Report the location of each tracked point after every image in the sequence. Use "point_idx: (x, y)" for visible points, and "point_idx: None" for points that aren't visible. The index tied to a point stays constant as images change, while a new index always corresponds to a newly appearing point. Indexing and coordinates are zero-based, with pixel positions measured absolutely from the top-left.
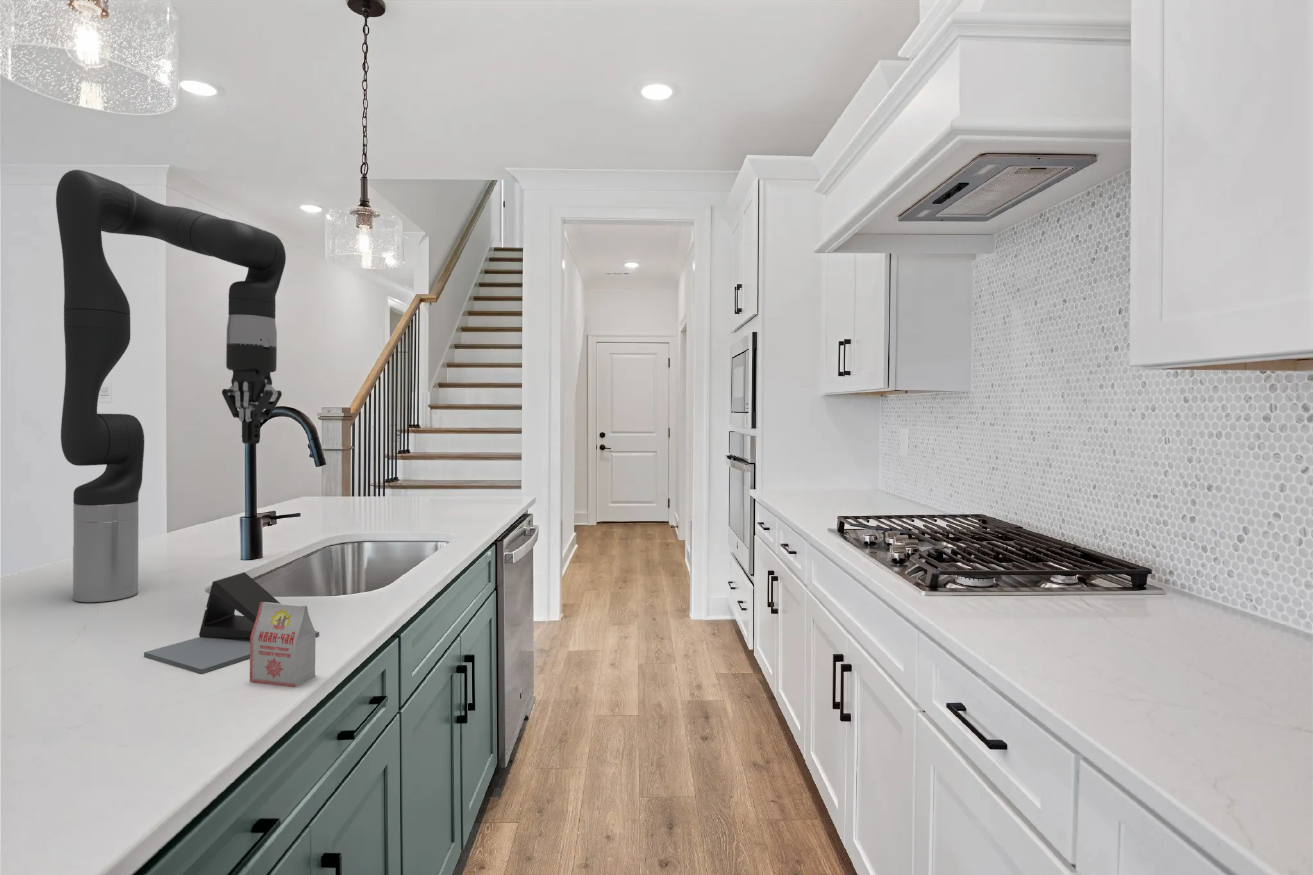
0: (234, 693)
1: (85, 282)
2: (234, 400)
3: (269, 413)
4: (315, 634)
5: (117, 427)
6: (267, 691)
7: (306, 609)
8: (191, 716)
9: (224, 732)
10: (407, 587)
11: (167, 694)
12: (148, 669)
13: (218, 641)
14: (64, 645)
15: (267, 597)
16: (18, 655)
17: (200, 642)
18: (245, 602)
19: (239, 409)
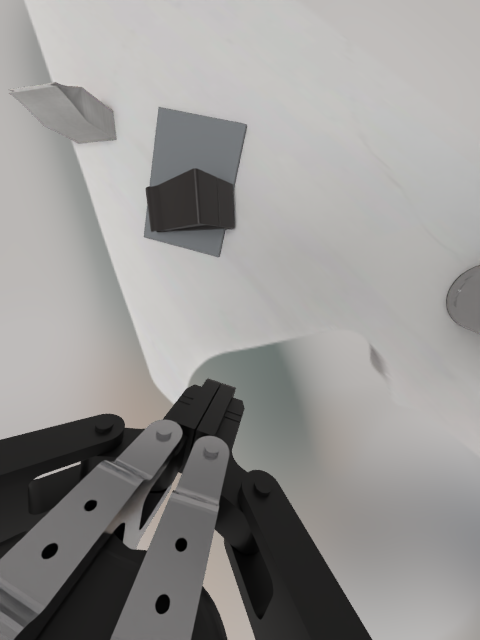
0: (103, 82)
1: None
2: (288, 632)
3: (65, 469)
4: (45, 126)
5: None
6: None
7: (14, 96)
8: (94, 25)
9: (51, 12)
10: (175, 399)
11: (147, 55)
12: (213, 98)
13: None
14: (359, 121)
15: (172, 220)
16: (380, 72)
17: (218, 171)
18: (171, 186)
19: (212, 499)
